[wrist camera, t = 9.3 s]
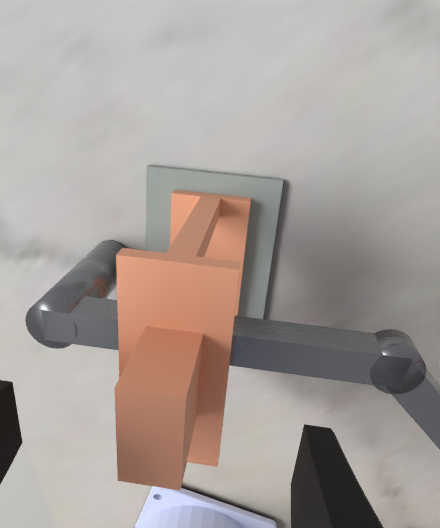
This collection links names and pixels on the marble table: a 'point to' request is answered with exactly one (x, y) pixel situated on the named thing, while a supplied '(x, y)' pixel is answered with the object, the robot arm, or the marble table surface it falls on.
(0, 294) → the marble table surface
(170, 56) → the marble table surface
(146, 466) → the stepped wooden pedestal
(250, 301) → the pad
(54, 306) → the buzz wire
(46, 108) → the marble table surface
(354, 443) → the marble table surface
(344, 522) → the robot arm
